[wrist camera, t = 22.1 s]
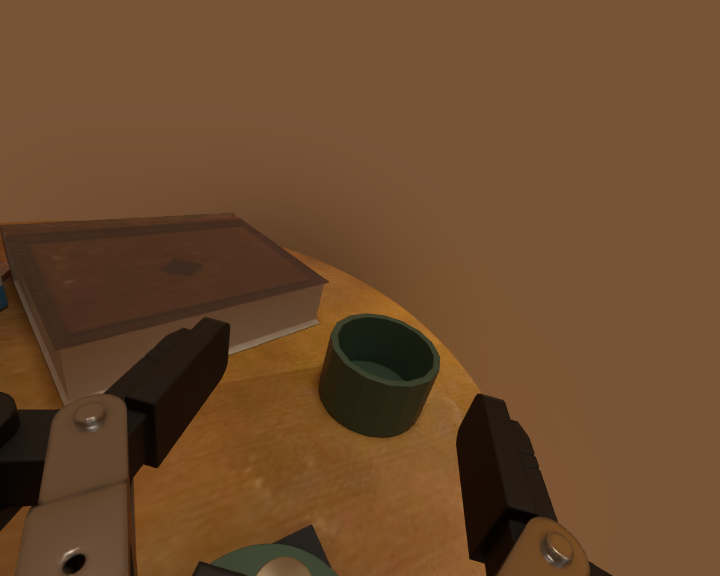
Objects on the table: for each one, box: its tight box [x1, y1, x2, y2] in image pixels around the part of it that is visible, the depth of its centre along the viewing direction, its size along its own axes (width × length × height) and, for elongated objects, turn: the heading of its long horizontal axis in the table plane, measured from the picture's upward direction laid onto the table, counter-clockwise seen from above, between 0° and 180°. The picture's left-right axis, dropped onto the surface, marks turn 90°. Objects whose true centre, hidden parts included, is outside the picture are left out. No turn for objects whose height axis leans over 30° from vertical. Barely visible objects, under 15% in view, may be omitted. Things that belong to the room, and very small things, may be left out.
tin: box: [319, 313, 440, 437], centre depth 39 cm, size 11×11×7 cm
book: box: [0, 213, 329, 406], centre depth 45 cm, size 24×28×6 cm
